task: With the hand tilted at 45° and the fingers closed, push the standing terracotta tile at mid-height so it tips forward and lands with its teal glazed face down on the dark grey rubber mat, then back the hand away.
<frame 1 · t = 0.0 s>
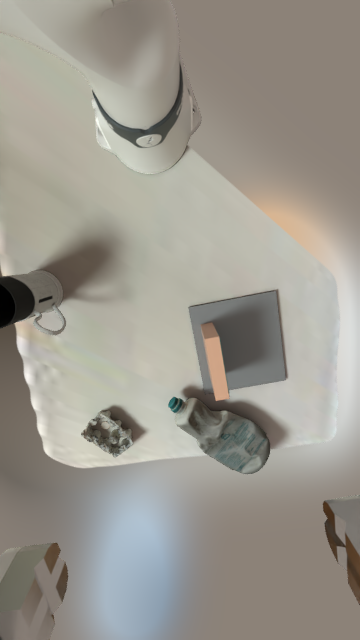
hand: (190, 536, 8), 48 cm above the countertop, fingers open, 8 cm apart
egg carton: (111, 428, 62), on the countertop
mat: (238, 344, 57), on the countertop
tile: (211, 350, 57), point 1 cm above the countertop, touching mat
glass holder: (54, 298, 55), on the countertop
detergent: (215, 421, 62), on the countertop
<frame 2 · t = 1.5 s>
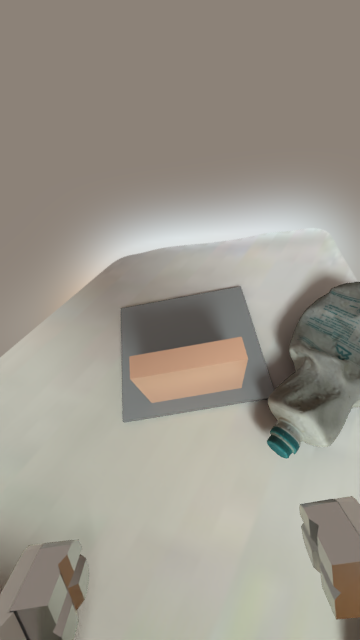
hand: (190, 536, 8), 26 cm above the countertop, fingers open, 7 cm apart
mat: (188, 348, 39), on the countertop
tile: (194, 386, 36), point 1 cm above the countertop, touching mat
detergent: (323, 375, 35), on the countertop
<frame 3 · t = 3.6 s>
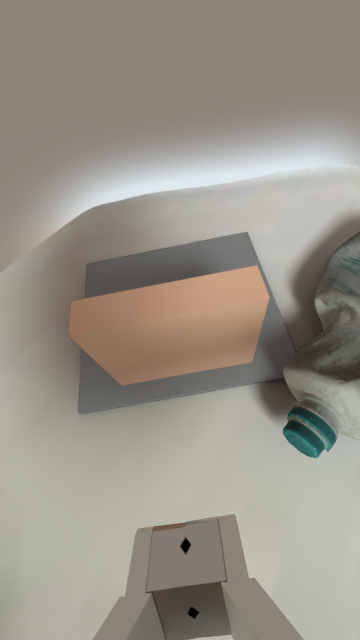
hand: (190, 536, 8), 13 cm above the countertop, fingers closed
mat: (176, 311, 28), on the countertop
tile: (184, 361, 25), point 1 cm above the countertop, touching mat
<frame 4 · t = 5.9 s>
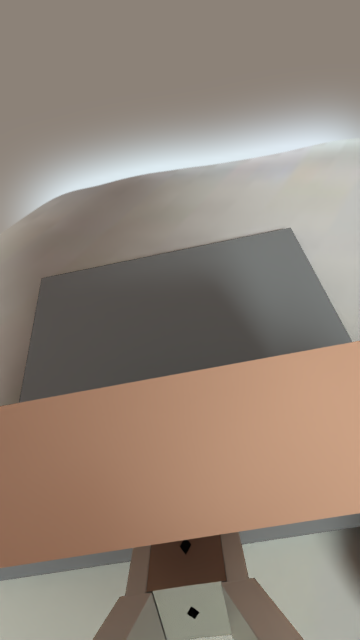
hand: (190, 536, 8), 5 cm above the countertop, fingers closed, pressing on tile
mat: (180, 361, 17), on the countertop
tile: (195, 470, 13), point 1 cm above the countertop, touching gripper, mat
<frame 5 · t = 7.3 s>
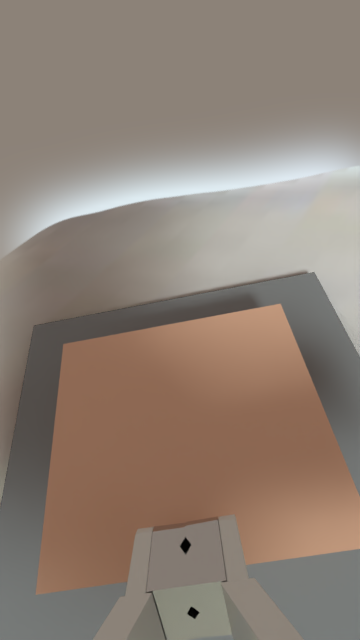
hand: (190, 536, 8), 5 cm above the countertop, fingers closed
mat: (191, 439, 14), on the countertop
tile: (204, 561, 10), point 2 cm above the countertop, tilted 90°, touching mat
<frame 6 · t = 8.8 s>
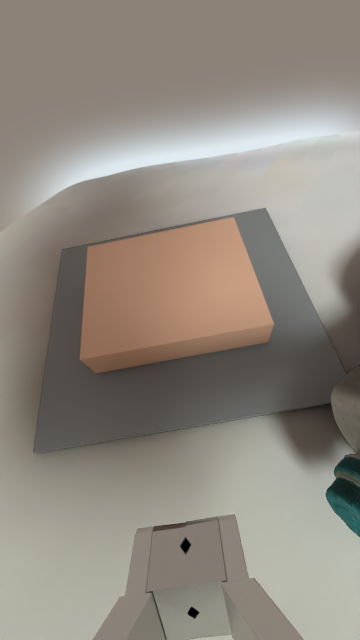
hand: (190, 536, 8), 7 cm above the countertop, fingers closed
mat: (174, 309, 21), on the countertop
tile: (178, 350, 17), point 2 cm above the countertop, tilted 90°, touching mat
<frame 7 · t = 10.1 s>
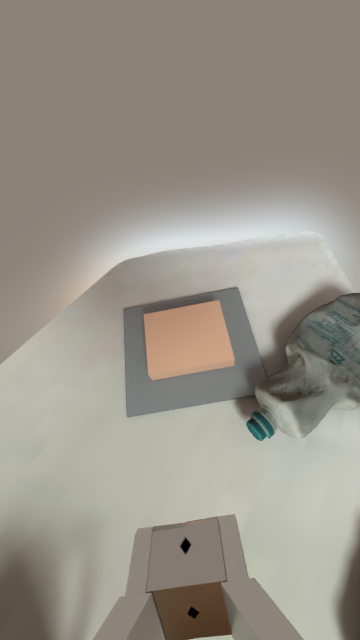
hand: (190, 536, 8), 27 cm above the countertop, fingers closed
mat: (188, 347, 41), on the countertop
tile: (192, 370, 37), point 2 cm above the countertop, tilted 90°, touching mat
detergent: (315, 376, 37), on the countertop
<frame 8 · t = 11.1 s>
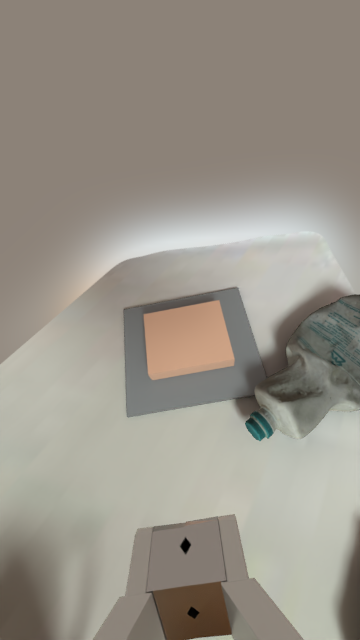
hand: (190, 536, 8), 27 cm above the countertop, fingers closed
mat: (188, 346, 41), on the countertop
tile: (192, 370, 37), point 2 cm above the countertop, tilted 90°, touching mat
detergent: (315, 377, 37), on the countertop
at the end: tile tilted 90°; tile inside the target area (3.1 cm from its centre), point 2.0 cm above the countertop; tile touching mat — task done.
